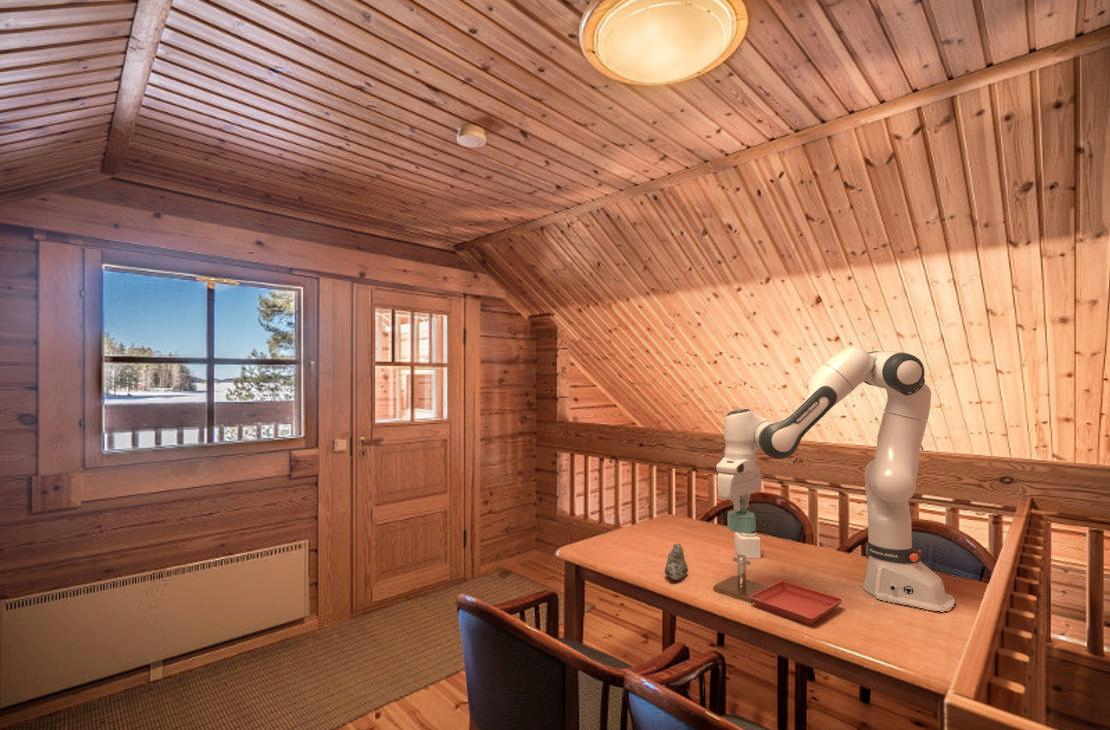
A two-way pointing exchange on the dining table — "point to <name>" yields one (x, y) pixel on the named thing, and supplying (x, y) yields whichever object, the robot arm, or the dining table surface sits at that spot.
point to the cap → (741, 520)
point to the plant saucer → (795, 602)
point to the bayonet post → (739, 583)
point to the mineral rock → (676, 563)
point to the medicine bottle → (748, 545)
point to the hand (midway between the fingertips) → (741, 509)
